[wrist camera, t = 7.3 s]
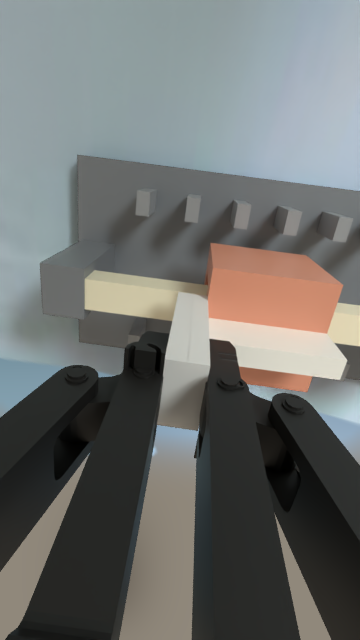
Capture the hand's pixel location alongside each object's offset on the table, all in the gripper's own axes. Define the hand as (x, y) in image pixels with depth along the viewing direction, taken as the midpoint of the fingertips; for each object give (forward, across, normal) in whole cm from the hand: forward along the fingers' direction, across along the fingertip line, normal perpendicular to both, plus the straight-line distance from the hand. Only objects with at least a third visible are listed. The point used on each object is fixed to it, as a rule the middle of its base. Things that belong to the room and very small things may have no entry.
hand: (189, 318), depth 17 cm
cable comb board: (+9, +5, 0) cm, 11 cm away
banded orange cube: (+5, +4, 0) cm, 6 cm away
